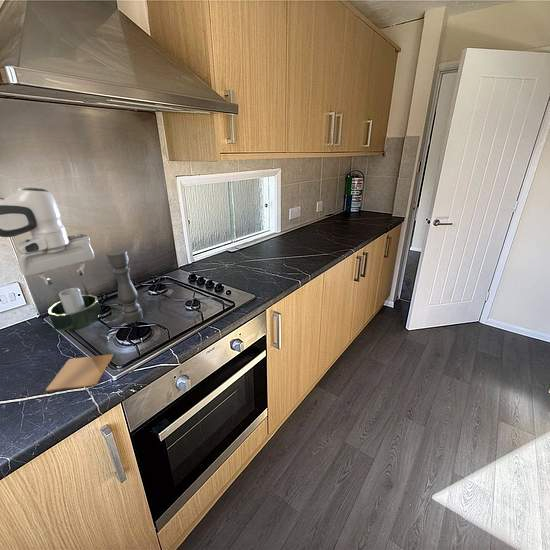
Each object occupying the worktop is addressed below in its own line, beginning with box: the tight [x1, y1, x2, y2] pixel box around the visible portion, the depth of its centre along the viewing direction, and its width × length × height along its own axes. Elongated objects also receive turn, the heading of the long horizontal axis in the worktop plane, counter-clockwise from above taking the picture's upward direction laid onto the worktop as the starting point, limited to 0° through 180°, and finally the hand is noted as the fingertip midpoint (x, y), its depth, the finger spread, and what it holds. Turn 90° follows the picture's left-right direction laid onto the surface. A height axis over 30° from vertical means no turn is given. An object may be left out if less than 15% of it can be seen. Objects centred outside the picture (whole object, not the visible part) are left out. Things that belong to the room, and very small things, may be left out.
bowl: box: [47, 294, 102, 331], centre depth 104 cm, size 15×15×6 cm
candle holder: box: [106, 249, 144, 325], centre depth 99 cm, size 6×6×25 cm
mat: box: [45, 353, 114, 392], centre depth 79 cm, size 12×12×1 cm
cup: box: [58, 287, 86, 314], centre depth 103 cm, size 6×6×11 cm
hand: (65, 279), depth 99 cm, fingers open, 8 cm apart
